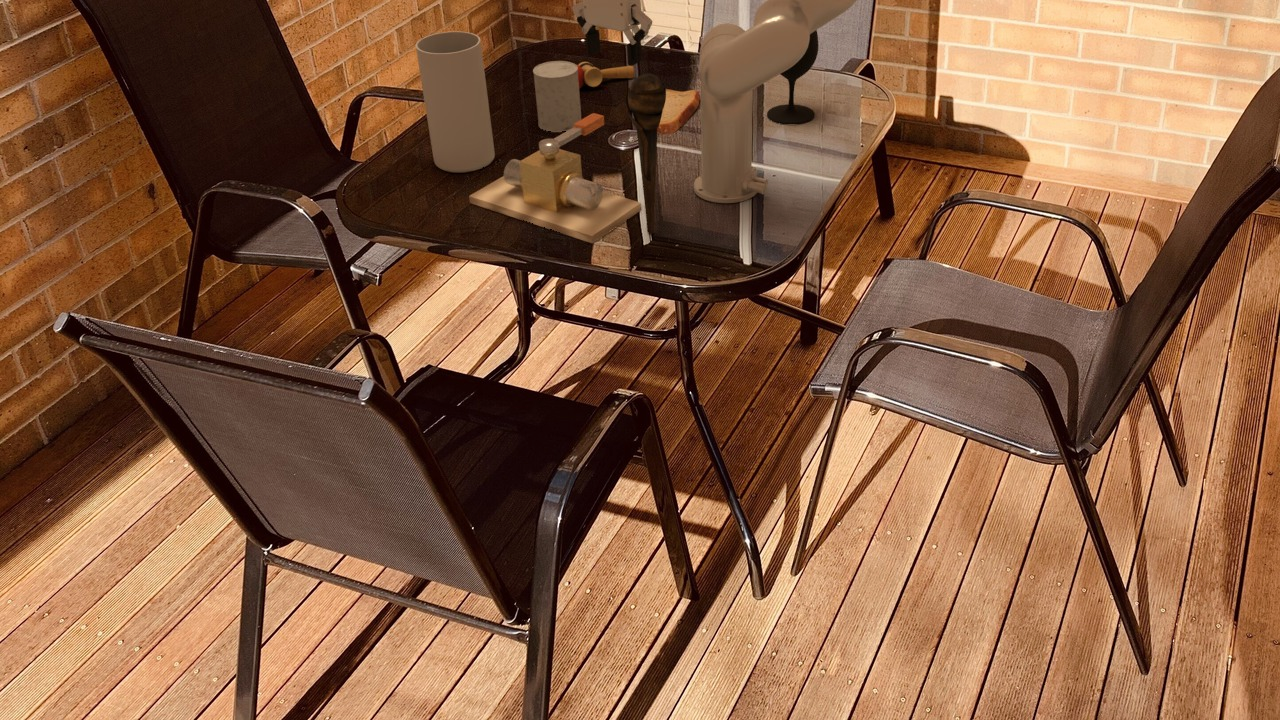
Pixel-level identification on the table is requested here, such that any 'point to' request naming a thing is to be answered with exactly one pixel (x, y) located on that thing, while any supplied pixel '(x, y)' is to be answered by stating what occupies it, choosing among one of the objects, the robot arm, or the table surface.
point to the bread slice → (677, 110)
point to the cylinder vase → (456, 100)
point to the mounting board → (565, 221)
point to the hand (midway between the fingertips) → (614, 58)
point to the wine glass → (791, 111)
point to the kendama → (601, 74)
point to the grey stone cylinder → (557, 95)
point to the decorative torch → (647, 132)
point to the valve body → (553, 181)
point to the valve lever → (571, 134)
